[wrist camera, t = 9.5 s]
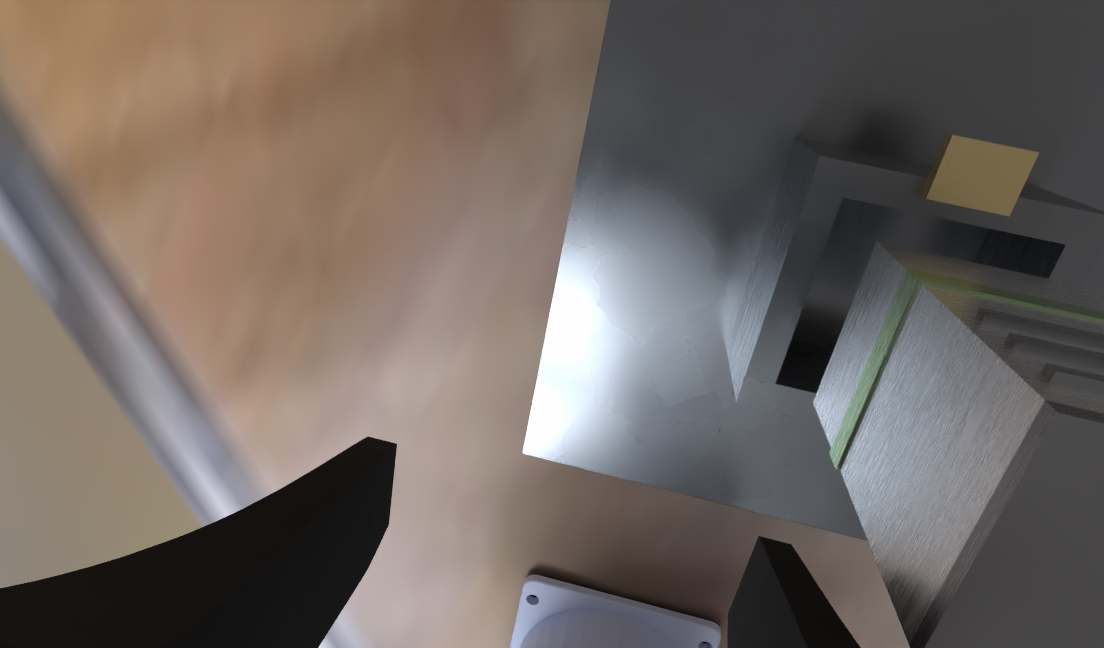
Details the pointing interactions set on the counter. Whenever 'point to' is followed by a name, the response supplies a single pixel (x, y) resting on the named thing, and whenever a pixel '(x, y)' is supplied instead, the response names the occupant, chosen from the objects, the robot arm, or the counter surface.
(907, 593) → the column
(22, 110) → the counter surface
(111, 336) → the counter surface
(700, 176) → the stand base
